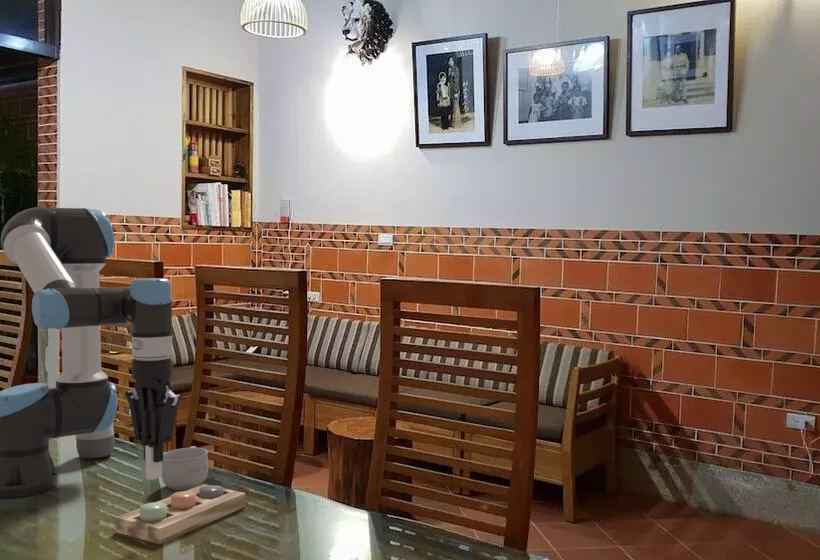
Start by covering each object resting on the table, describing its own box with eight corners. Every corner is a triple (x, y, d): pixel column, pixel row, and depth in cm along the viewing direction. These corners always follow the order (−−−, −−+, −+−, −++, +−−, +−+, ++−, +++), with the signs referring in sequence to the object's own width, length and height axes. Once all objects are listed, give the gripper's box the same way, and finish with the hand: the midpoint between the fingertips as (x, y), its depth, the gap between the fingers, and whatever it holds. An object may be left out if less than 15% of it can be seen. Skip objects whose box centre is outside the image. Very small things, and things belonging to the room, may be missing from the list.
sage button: (134, 523, 150) (134, 508, 150) (154, 515, 154) (154, 500, 154) (152, 528, 147) (152, 512, 147) (172, 519, 152) (172, 505, 152)
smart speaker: (97, 463, 197) (97, 409, 197) (68, 459, 200) (67, 406, 200) (122, 453, 206) (121, 402, 206) (93, 450, 209) (93, 399, 209)
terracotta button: (165, 510, 157) (165, 496, 157) (183, 503, 161) (183, 489, 161) (183, 515, 154) (183, 500, 154) (201, 507, 159) (201, 493, 159)
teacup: (194, 495, 173) (194, 460, 172) (150, 492, 175) (150, 457, 174) (221, 477, 186) (221, 444, 186) (180, 474, 188) (180, 442, 188)
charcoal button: (194, 504, 164) (194, 490, 164) (210, 497, 168) (210, 484, 168) (211, 508, 162) (211, 494, 161) (228, 501, 166) (228, 487, 166)
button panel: (115, 532, 150) (115, 517, 150) (203, 497, 171) (203, 484, 171) (159, 544, 145) (159, 528, 144) (245, 506, 166) (245, 493, 165)
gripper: (113, 357, 149) (115, 478, 150) (161, 362, 143) (163, 487, 144) (143, 353, 156) (145, 468, 157) (191, 357, 149) (192, 477, 150)
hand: (153, 477), depth 150 cm, fingers closed
